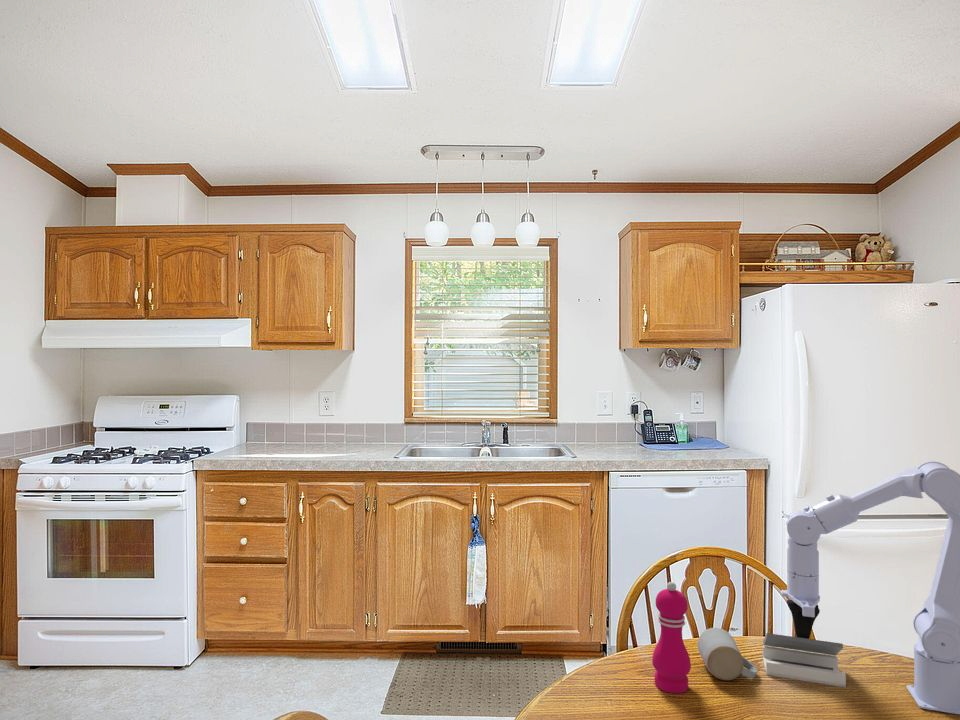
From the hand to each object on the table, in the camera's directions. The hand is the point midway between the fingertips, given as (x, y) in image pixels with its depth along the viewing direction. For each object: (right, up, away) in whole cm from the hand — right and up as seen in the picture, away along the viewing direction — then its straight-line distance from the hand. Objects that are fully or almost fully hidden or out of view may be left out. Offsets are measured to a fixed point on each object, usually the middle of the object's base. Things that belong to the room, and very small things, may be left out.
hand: (802, 639), depth 123 cm
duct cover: (+1, -2, +1) cm, 3 cm away
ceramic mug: (-15, -7, 0) cm, 17 cm away
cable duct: (0, -7, +1) cm, 7 cm away
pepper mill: (-28, -7, -5) cm, 30 cm away
